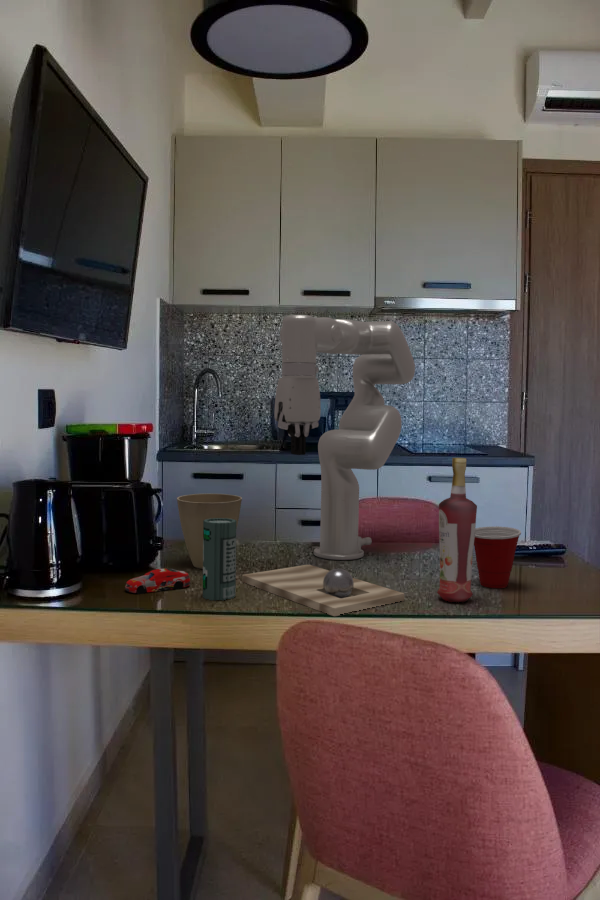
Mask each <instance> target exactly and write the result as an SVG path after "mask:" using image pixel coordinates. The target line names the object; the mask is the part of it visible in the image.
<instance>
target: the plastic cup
mask: <svg viewBox="0 0 600 900" xmlns="http://www.w3.org/2000/svg"><path fill="white" fill-rule="evenodd" d="M521 534H522V531H521V530H520V529H518V528H514V527H508V526H497V525H496V526H481V527H475V538H474V554H475V560H476V567H477V568H476V569H477V572H478V579H479V585H481V586H483V587H484V588H488V589H489V588H491V589H504V588H507V587H508V584H509V582H510V578H511V572H512V569H513V566H514V560H515V555H516V550H517V546H518V542H519V538H520V536H521Z"/></svg>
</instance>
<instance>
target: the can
mask: <svg viewBox="0 0 600 900" xmlns="http://www.w3.org/2000/svg"><path fill="white" fill-rule="evenodd" d="M236 570H237V529H236V520H233V519H228V518H213V519H211V518H210V519H206V520H204V521H203V569H202V598H203V599H205V600H207V599H209V600H208V601H213V600H214V601H216V600H222V601H224V600H225V601H227V600H226V599H230V600H232V599H235V598H236V587H237V586H236V585H237V584H236V583H237V581H236V580H237V579H236V578H237V577H236V575H237V572H236ZM234 597H235V598H234ZM231 598H232V599H231Z"/></svg>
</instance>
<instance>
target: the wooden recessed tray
mask: <svg viewBox="0 0 600 900" xmlns="http://www.w3.org/2000/svg"><path fill="white" fill-rule="evenodd" d="M329 571H330V570H328V569H325V568H322V567H318V566H315V565H311V564H303V565H297V566H290V567H284V568H278V569H271V570H265V571H258V572H253V573H245V574H242V575H241V583H244V584H246V583H247V584H246V585H248V586H249V585H250V586H252V587H254V586H255V588H257V589H260V590H262V591H265V592H268V593H271V594H273V595H276V596H279V597H281V598H283V599H287V600H290V601H292V602H294V603H298V604H300V605H303V606H305V607H308V608H311V609H312V610H313V609H314V610H316V611H319V612H321V611H322V612H321V613H325V614H326V613H327V615H329V616H332V617H338V616H341V615H340V614H343V615H345V614H344V613H348V612H352V611H357V612H360V611H359V610H361V611H364V610H363V609H366V610H368V609H367V608H370V609H373V608H372V607H375V608H377V607H376V606H379V607H382V606H381V605H384V606H386V605H385V604H389V605H392V604H391V603H393V604H396V603H395V602H398V603H401V602H400V601H402V602H404V601H405V592H402V591H397V590H395V589H392V588H388V587H385V586H381V585H378V584H375V583H373V582H367V581H365V580H361V579H358V578H355V577H352V578H353V582H354V586H353V590H352V592H351V594H350V595H351V596H348V597H346V598H338V597H335V596H332V595H329V594H326V592H325V591H324V588H323V580H324V577H325V575H326V574H327V573H328V572H329ZM352 613H353V612H352ZM348 614H349V613H348Z"/></svg>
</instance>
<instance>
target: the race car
mask: <svg viewBox="0 0 600 900" xmlns="http://www.w3.org/2000/svg"><path fill="white" fill-rule="evenodd" d="M190 585H191V578H190V575H189V573H188V572H186V571H184V570H177V569H174V568H156V569H153V570H150V571H148V572H146V573H144V575H141V576H140V575H139V576H137V577H136V576H135V577H133V578H130V579H129V580H127V581H126V582H125V586H124V587H125V591H126V592H128V593H133V594H136V595H143V594H144V595H145V593H154V592H163V591H169V590H170V591H171V590H175V591H176V590H182V589H183V588H186V587H189V586H190Z"/></svg>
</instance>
